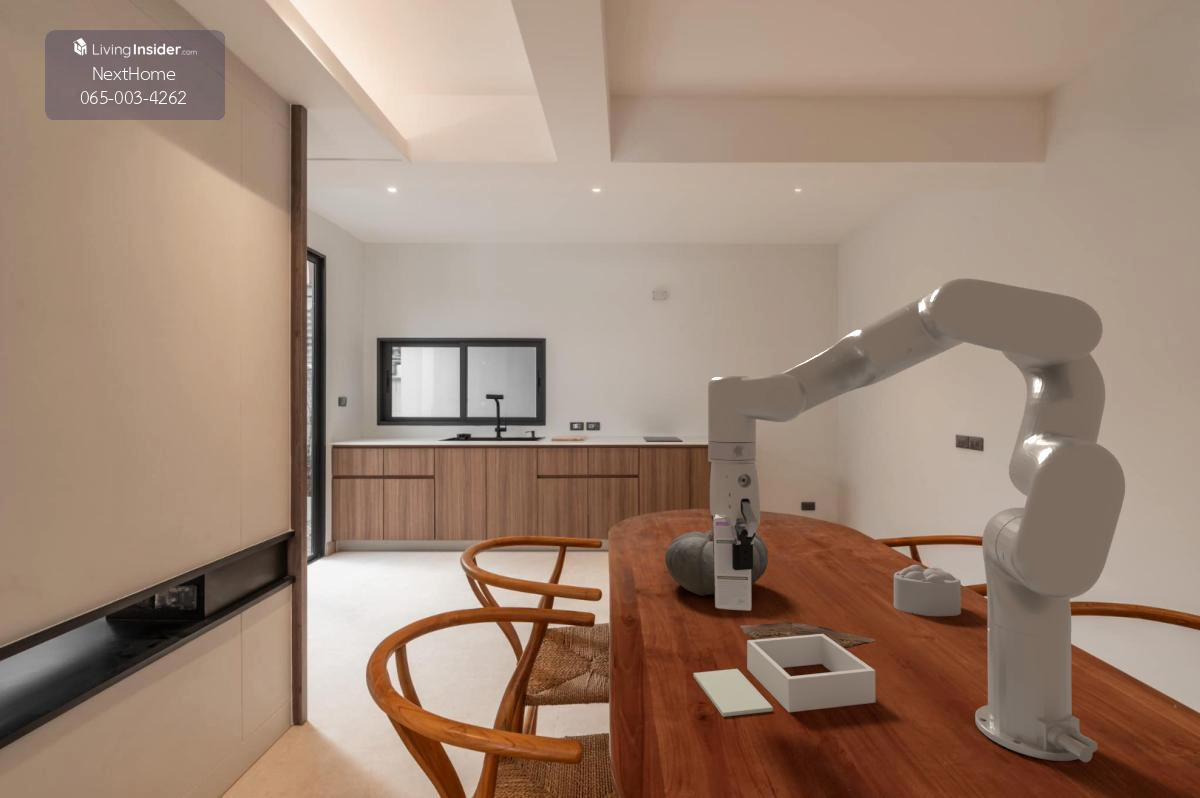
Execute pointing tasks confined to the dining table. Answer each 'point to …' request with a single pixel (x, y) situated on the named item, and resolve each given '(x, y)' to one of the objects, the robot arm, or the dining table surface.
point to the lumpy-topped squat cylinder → (927, 592)
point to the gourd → (705, 561)
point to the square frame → (811, 691)
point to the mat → (732, 692)
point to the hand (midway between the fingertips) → (732, 561)
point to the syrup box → (729, 570)
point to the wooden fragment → (802, 633)
